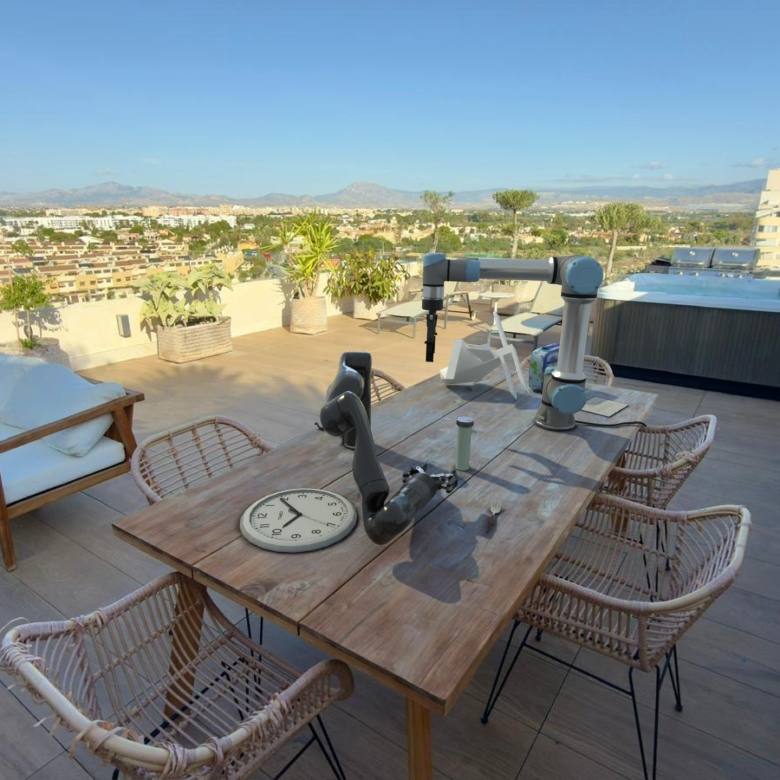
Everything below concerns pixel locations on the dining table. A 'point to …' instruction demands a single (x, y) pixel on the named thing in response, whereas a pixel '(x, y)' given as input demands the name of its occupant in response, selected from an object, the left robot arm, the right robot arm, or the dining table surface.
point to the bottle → (463, 448)
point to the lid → (465, 422)
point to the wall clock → (298, 520)
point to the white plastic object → (482, 362)
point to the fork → (493, 510)
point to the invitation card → (603, 406)
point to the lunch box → (542, 364)
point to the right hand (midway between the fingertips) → (430, 357)
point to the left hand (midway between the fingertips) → (439, 468)
